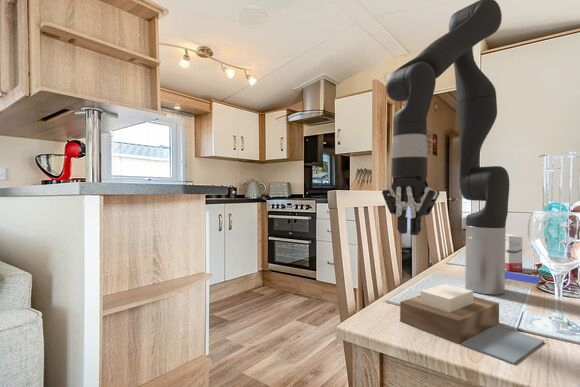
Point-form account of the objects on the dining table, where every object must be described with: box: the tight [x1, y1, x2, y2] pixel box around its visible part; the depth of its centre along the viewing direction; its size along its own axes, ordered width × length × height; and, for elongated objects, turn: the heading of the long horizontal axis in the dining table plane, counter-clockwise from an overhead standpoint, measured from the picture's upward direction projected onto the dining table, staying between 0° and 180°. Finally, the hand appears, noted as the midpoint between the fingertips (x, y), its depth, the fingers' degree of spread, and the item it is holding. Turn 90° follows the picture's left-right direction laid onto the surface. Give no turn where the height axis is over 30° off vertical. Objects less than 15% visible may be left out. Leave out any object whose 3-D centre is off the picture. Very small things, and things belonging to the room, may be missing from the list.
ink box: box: [505, 233, 523, 272], centre depth 114 cm, size 9×5×12 cm, turn 179°
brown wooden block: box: [399, 294, 500, 344], centre depth 67 cm, size 16×12×4 cm
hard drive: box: [505, 270, 541, 287], centre depth 101 cm, size 2×8×12 cm
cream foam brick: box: [420, 283, 474, 312], centre depth 67 cm, size 9×6×2 cm, turn 126°
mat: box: [461, 324, 545, 365], centre depth 58 cm, size 13×8×1 cm, turn 126°
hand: (408, 233), depth 74 cm, fingers open, 2 cm apart
